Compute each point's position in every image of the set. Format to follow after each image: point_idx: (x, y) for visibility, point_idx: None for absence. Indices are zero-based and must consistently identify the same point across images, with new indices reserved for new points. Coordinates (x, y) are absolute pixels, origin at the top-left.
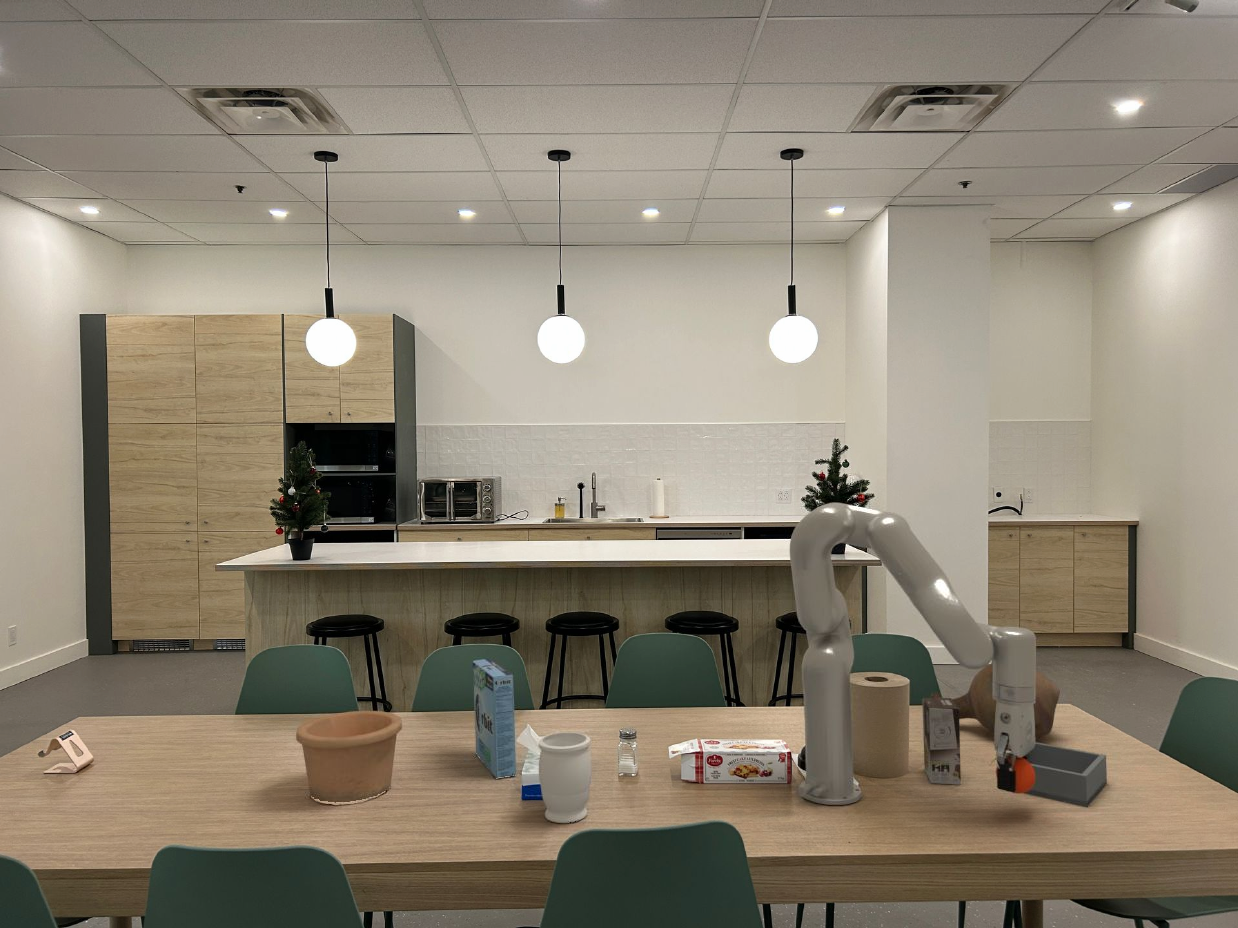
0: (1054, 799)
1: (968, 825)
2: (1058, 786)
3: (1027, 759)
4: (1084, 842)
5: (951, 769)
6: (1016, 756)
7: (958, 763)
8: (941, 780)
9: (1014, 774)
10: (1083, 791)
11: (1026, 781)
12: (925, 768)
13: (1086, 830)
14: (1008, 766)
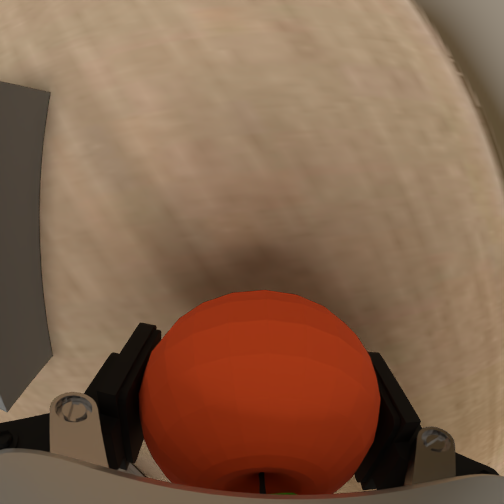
0: (38, 200)
1: (401, 386)
2: (8, 192)
3: (88, 398)
4: (397, 64)
5: None
6: None
7: None
8: (135, 474)
9: (414, 410)
10: (16, 96)
11: (356, 335)
12: None
13: (283, 52)
14: (456, 460)
